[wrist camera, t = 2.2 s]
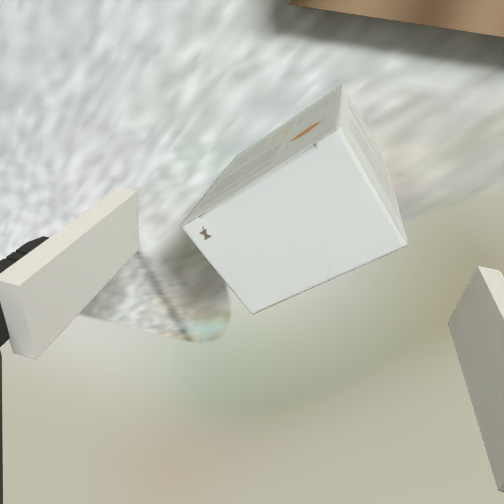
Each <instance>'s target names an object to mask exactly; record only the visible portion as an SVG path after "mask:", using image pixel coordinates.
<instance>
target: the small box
mask: <svg viewBox="0 0 504 504" xmlns="http://www.w3.org/2000/svg"><path fill="white" fill-rule="evenodd" d="M181 227H182V229H183V230H184V231H185V232H186V234H187V235H188V236H189V237H190V239H191V240H192V241H193V242H194V244H195V245H196V246H197V248H198V249H199V250H200V251H201V252H202V254H203V255H204V256H205V257H206V259H207V260H208V261H209V262H210V264H211V265H212V266H213V267H214V269H215V270H216V271H217V272H218V274H219V275H220V276H221V277H222V278H223V280H224V281H225V282H226V283H227V285H228V286H229V287H230V288H231V290H232V291H233V292H234V293H235V295H236V296H237V297H238V298H239V299H240V301H241V302H242V303H243V304H244V305H245V307H246V308H247V309H248V310H249V311H250V313H251V314H255V313H257V312H259V311H261V310H264V309H266V308H268V307H271V306H273V305H275V304H277V303H280V302H282V301H284V300H286V299H288V298H291V297H293V296H295V295H297V294H300V293H302V292H304V291H306V290H308V289H311V288H313V287H315V286H318V285H320V284H322V283H324V282H326V281H329V280H331V279H333V278H336V277H338V276H340V275H342V274H344V273H347V272H349V271H351V270H353V269H356V268H358V267H360V266H363V265H365V264H367V263H369V262H372V261H374V260H376V259H378V258H381V257H383V256H385V255H388V254H390V253H392V252H394V251H397V250H399V249H401V248H404V247H406V246H407V238H406V234H405V230H404V226H403V223H402V219H401V215H400V212H399V208H398V204H397V200H396V195H395V192H394V189H393V185H392V182H391V178H390V174H389V170H388V167H387V163H386V161H385V159H384V157H383V155H382V154H381V152H380V150H379V148H378V146H377V144H376V143H375V141H374V139H373V137H372V135H371V134H370V132H369V130H368V128H367V126H366V125H365V123H364V121H363V119H362V118H361V116H360V114H359V112H358V111H357V109H356V107H355V105H354V103H353V102H352V100H351V98H350V97H349V95H348V93H347V91H346V90H345V88H344V86H343V85H341V86H339V87H338V88H336V89H335V90H333V91H332V92H331V93H329V94H328V95H326V96H325V97H323V98H322V99H320V100H319V101H317V102H316V103H314V104H313V105H311V106H310V107H308V108H307V109H305V110H304V111H303V112H301V113H300V114H298V115H297V116H295V117H294V118H292V119H291V120H289V121H288V122H286V123H285V124H283V125H282V126H281V127H279V128H278V129H276V130H275V131H273V132H272V133H270V134H269V135H267V136H266V137H264V138H263V139H261V140H260V141H259V142H257V143H256V144H254V145H253V146H251V147H250V148H248V149H247V150H245V151H244V152H242V153H241V154H239V155H237V156H236V157H235V158H234V159H233V160H232V162H231V163H230V164H229V165H228V166H227V168H226V169H225V170H224V171H223V173H222V174H221V175H220V176H219V178H218V179H217V180H216V181H215V182H214V184H213V185H212V186H211V188H210V189H209V190H208V191H207V193H206V194H205V195H204V197H203V198H202V199H201V200H200V202H199V203H198V204H197V205H196V207H195V208H194V209H193V210H192V212H191V213H190V214H189V215H188V217H187V218H186V219H185V220H184V221H183V223H182V224H181Z"/></svg>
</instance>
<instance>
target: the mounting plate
mask: <svg viewBox="0 0 504 504" xmlns="http://www.w3.org/2000/svg"><path fill="white" fill-rule="evenodd" d="M290 5H296V6H303V7H309V8H316V9H323V10H329V11H336V12H342V13H349V14H355V15H362V16H369V17H375V18H382V19H388V20H395V21H401V22H408V23H415V24H421V25H428V26H434V27H441V28H447V29H454V30H461V31H467V32H474V33H480V34H487V35H493V36H500V37H504V0H290Z"/></svg>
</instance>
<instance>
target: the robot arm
mask: <svg viewBox="0 0 504 504" xmlns="http://www.w3.org/2000/svg"><path fill="white" fill-rule="evenodd" d="M138 250H139V232H138V197H137V191H135V190H131V189H126V188H122V187H119V188H118V189H116V190H115V191H113V192H112V193H111V194H109V195H108V196H107V197H105V198H104V199H102V200H101V201H100V202H98V203H97V204H95V205H94V206H93V207H91V208H90V209H89V210H87V211H86V212H84V213H83V214H82V215H80V216H79V217H78V218H76V219H75V220H73V221H72V222H71V223H69V224H68V225H66V226H65V227H64V228H62V229H61V230H60V231H58V232H57V233H55V234H54V235H53V236H51V237H50V238H48V237H44V236H43V237H40V238H38V239H35V240H32V241H29V242H27V243H26V244H24V245H23V246H21V247H20V248H19V249H17V250H16V252H13V253H11V254H10V255H8V256H7V257H6V259H3V260H1V261H0V347H1V346H2V345H3V344H4V343H5V342H6V341H7V340H8V339H9V340H10V343H11V347H12V351H13V353H15V354H18V355H22V356H25V357H29V358H33V359H37V358H38V357H39V356H40V355H41V354H42V353H43V351H44V350H46V349H47V347H48V346H49V345H50V344H51V343H52V342H53V341H54V340H55V339H56V337H58V335H59V334H60V333H61V332H62V331H63V330H64V329H65V328H66V327H67V326H68V325H69V324H70V323H71V322H72V320H73V319H74V318H75V317H76V316H77V315H78V314H79V313H80V312H81V311H82V310H83V309H84V308H85V307H86V306H87V304H88V303H89V302H90V301H91V300H92V299H93V298H94V297H95V296H96V295H97V294H98V293H99V292H100V290H101V289H102V288H103V287H104V286H105V285H106V284H107V283H108V282H109V281H110V280H111V279H112V278H113V276H114V275H115V274H116V273H117V272H118V271H119V270H120V269H121V268H122V267H123V266H124V265H125V264H126V262H127V261H128V260H129V259H130V258H131V257H132V256H133V255H134V254H135V253H136V252H137V251H138ZM448 325H449V328H450V332H451V335H452V338H453V342H454V345H455V348H456V352H457V355H458V358H459V361H460V365H461V368H462V372H463V375H464V378H465V382H466V385H467V388H468V392H469V395H470V398H471V402H472V405H473V408H474V411H475V415H476V418H477V422H478V425H479V428H480V431H481V435H482V438H483V441H484V445H485V448H486V452H487V455H488V458H489V461H490V465H491V468H492V472H493V475H494V478H495V482H496V484H497V488H498V491H501V492H504V277H503V275H502V274H501V272H500V271H499V270H494V269H490V268H485V267H480V266H477V268H476V270H475V272H474V274H473V276H472V278H471V280H470V282H469V284H468V285H467V288H466V289H465V291H464V293H463V295H462V297H461V299H460V301H459V303H458V304H457V306H456V309H455V310H454V312H453V314H452V316H451V318H450V320H449V322H448ZM2 464H3V463H2V355H1V352H0V504H3V470H2V469H3V465H2Z"/></svg>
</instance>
